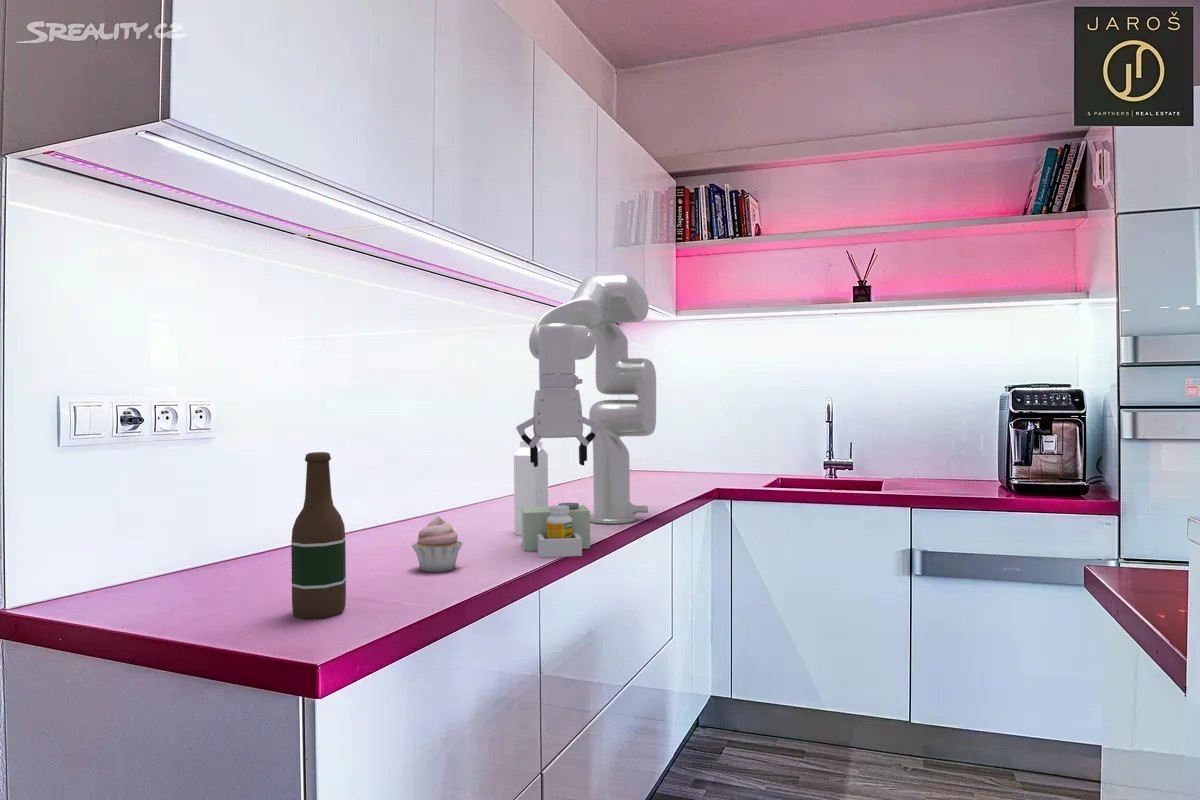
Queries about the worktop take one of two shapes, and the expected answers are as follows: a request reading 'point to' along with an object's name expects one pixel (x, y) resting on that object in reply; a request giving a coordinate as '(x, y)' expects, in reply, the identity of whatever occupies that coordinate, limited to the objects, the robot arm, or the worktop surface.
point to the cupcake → (437, 546)
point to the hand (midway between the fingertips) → (558, 465)
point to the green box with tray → (537, 539)
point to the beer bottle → (318, 547)
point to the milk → (529, 481)
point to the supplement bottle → (559, 523)
